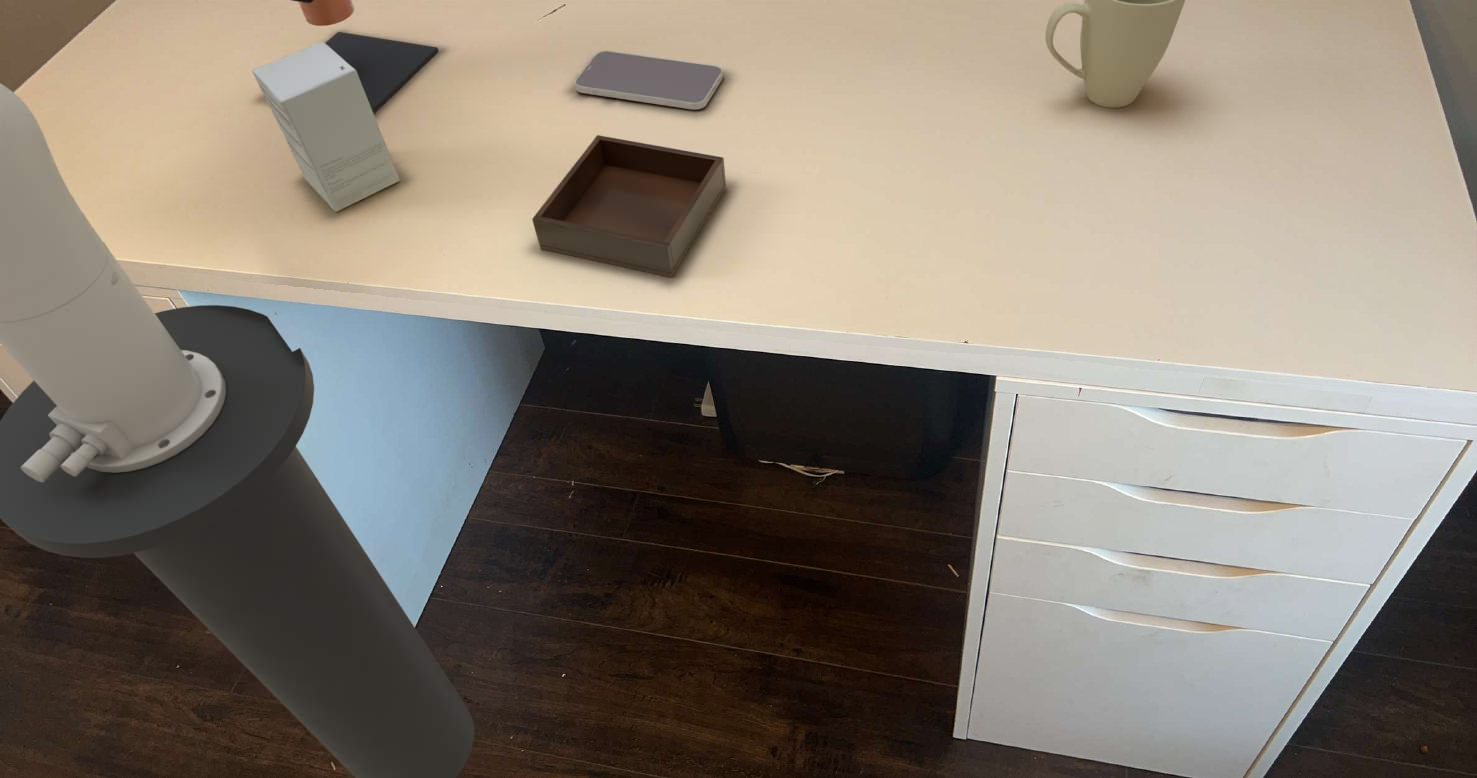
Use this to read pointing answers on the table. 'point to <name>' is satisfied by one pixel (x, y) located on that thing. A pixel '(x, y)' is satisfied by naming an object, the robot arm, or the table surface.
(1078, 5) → the mug
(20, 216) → the robot arm
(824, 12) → the table surface
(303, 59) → the white packaging box
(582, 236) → the tray
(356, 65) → the mat
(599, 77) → the smartphone
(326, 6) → the glossy orange cylinder
